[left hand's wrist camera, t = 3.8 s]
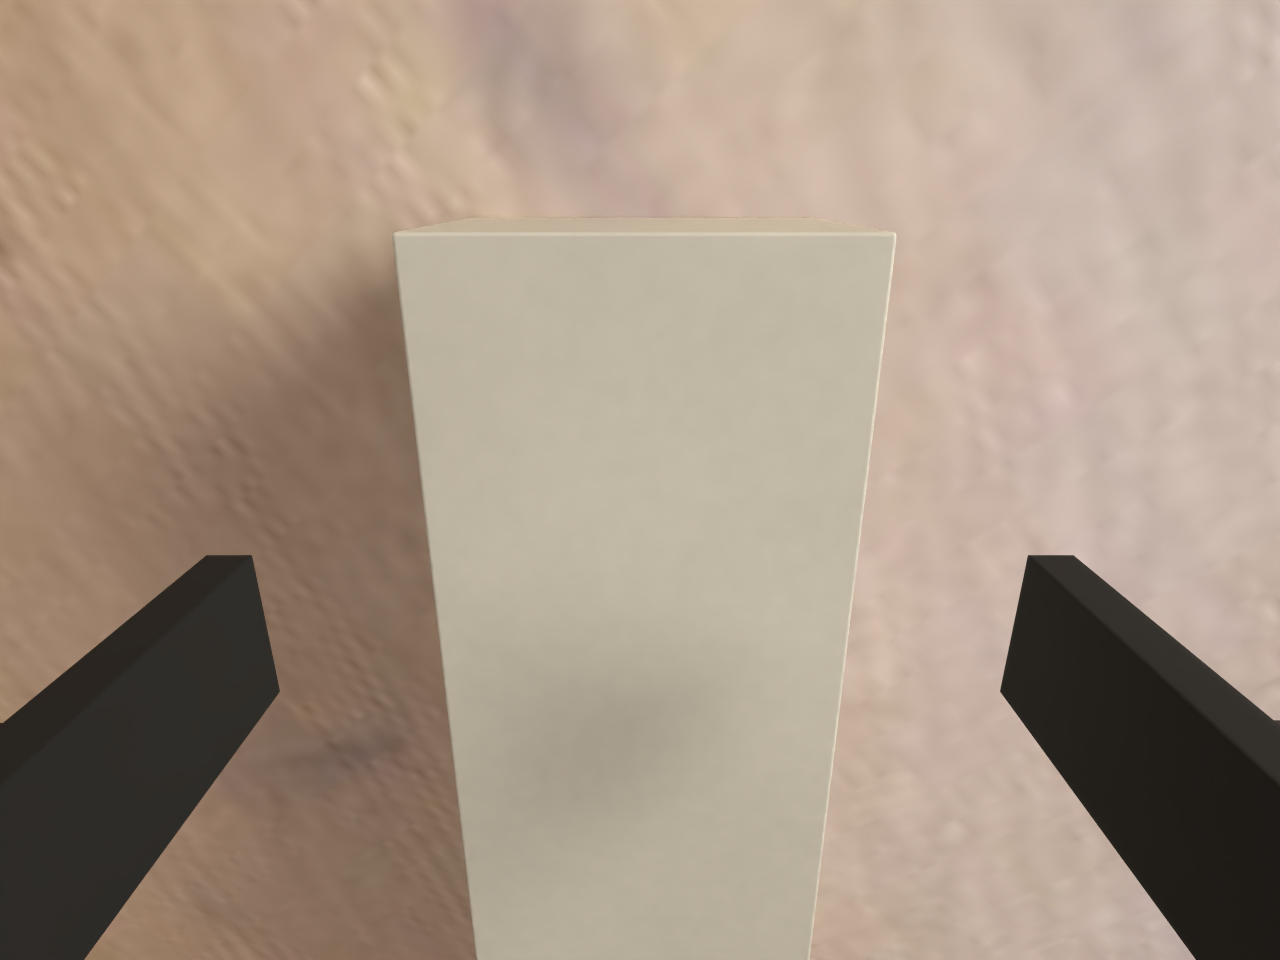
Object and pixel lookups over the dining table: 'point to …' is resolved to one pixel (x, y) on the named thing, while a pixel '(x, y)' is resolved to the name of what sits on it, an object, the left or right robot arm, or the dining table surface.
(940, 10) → the dining table surface
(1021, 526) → the dining table surface
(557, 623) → the slab
